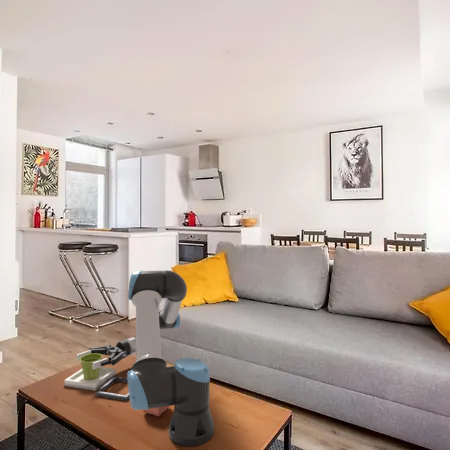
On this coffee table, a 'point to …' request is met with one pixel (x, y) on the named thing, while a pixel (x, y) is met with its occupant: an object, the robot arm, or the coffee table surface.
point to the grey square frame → (112, 395)
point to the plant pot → (90, 365)
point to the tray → (93, 384)
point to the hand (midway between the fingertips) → (84, 361)
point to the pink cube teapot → (156, 410)
